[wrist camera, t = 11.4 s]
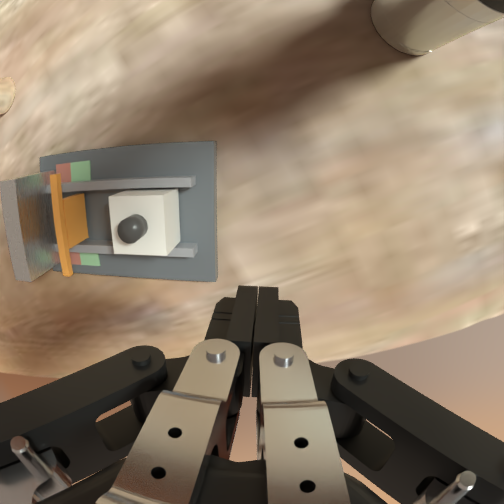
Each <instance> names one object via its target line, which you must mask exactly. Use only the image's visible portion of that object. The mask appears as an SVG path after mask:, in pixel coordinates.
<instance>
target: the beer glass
mask: <svg viewBox="0 0 504 504" xmlns="http://www.w3.org/2000/svg"><path fill="white" fill-rule="evenodd" d="M15 90H16V88H15V83H14V80H13V79H12V78H10V77H4V78H0V115H2V114H4V113H6V112H7V111H8V110H9V108H10V107H11V105H12V103H13V100H14V97H15Z"/></svg>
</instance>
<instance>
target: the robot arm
mask: <svg viewBox="0 0 504 504" xmlns="http://www.w3.org/2000/svg"><path fill="white" fill-rule="evenodd" d="M371 18H372V21H373V24H374V26H375V28H376V30H377V32H378V33H379V34H380V36H381V37H382V38H383V39H384V40H385V41H386V42H387V43H388V44H389V45H391V46H392V47H394V48H395V49H397V50H399V51H401V52H403V53H406V54H409V55H424V54H427V53H429V52H431V51H433V50H435V49H437V48H439V47H441V46H443V45H445V44H447V43H449V42H451V41H454V40H456V39H458V38H460V37H462V36H464V35H466V34H468V33H470V32H473V31H475V30H477V29H479V28H481V27H484V26H486V25H488V24H490V23H493V22H495V21H497V20H500V19H502V18H504V0H374V2H373V4H372V7H371ZM257 296H258V304H257ZM252 368H253V374H252ZM251 377H252V397H257V410H256V429H257V460H254V461H246V462H234V461H230V460H229V458H230V453H231V449H232V444H233V441H234V437H235V432H236V428H237V424H238V420H239V416H240V408H241V406H242V399H243V396H245V397H249V396H250V388H251ZM129 400H130V401H131V404H132V405H131V406H129V407H127V408H125V409H123V410H121V411H119V412H117V413H115V414H113V415H111V416H109V417H107V418H105V419H103V420H101V421H98V422H96V419H97V418H98V417H99V416H100V415H101V414H103V413H105V412H107V411H109V410H111V409H113V408H115V407H117V406H119V405H121V404H123V403H125V402H127V401H129ZM366 419H367V420H368V421H370V422H371V423H372V424H374V425H375V426H377V427H378V428H379V429H381V430H382V431H384V432H385V433H386V434H388V435H389V436H390V437H391V438H392V439H393V440H392V439H391V438H389V437H388V436H387V435H385V434H384V433H382V432H381V431H379V430H378V429H377V428H375V427H374V426H373V425H371V424H370V423H369V422H367V421H366ZM126 456H127V458H125V457H126ZM340 457H341V458H342V459H343V460H344V461H346V462H347V463H348V464H349V465H351V466H352V467H353V468H354V469H356V470H357V471H358V472H359V473H361V474H362V475H364V476H365V477H366V478H367V479H368V480H370V481H371V482H372V483H373V484H375V485H376V486H377V487H379V488H380V489H381V490H383V491H384V492H386V493H387V494H388V495H390V496H391V497H392V498H394V499H395V500H397V501H398V502H399V503H401V504H504V442H502V441H501V440H499V439H497V438H495V437H494V436H492V435H490V434H488V433H487V432H485V431H483V430H481V429H480V428H478V427H476V426H474V425H473V424H471V423H470V422H468V421H466V420H464V419H463V418H461V417H459V416H458V415H456V414H454V413H453V412H451V411H449V410H447V409H446V408H444V407H443V406H441V405H439V404H438V403H436V402H434V401H433V400H431V399H429V398H428V397H426V396H424V395H423V394H421V393H419V392H418V391H416V390H415V389H413V388H411V387H410V386H408V385H406V384H405V383H403V382H402V381H400V380H398V379H396V378H395V377H394V376H392V375H390V374H389V373H387V372H386V371H384V370H382V369H381V368H379V367H378V366H376V365H374V364H373V363H371V362H368V361H366V360H363V359H347V360H344V361H342V362H340V363H339V364H338V365H337V366H336V367H335V369H333V368H329V367H325V366H321V365H318V364H316V363H314V362H312V361H311V360H309V359H308V357H307V354H306V352H305V351H304V350H303V347H302V338H301V329H300V321H299V312H298V307H297V306H296V305H295V304H294V303H293V302H292V301H289V300H278V287H260V286H259V294H258V286H240V285H239V286H238V290H237V294H236V298H228V297H224V298H223V299H221V300H220V301H219V302H218V303H217V304H216V306H215V309H214V313H213V315H212V320H211V321H210V324H209V327H208V330H207V334H206V337H205V340H204V341H202V342H200V343H198V344H197V345H196V346H195V347H194V348H193V350H192V352H191V354H190V355H189V356H186V357H181V358H172V359H165V356H164V354H163V352H162V351H161V350H159V349H158V348H156V347H153V346H145V345H144V346H136V347H132V348H130V349H128V350H125V351H123V352H121V353H119V354H116V355H114V356H112V357H110V358H107V359H105V360H103V361H101V362H98V363H96V364H94V365H91V366H89V367H87V368H84V369H82V370H80V371H78V372H75V373H73V374H70V375H68V376H66V377H63V378H61V379H59V380H57V381H54V382H52V383H50V384H47V385H44V386H42V387H39V388H37V389H35V390H32V391H30V392H27V393H25V394H22V395H20V396H17V397H15V398H12V399H10V400H7V401H5V402H2V403H0V504H387V503H386V502H385V501H384V500H382V499H381V498H380V497H379V496H378V495H376V494H375V493H374V492H373V491H371V490H370V489H369V488H368V487H366V485H364V484H363V483H362V482H360V481H358V480H357V479H356V478H354V477H352V476H350V475H348V474H346V473H344V472H343V468H342V464H341V460H340ZM123 458H124V459H123ZM98 471H99V472H98ZM96 472H97V473H96ZM94 473H95V474H94ZM92 474H93V475H92ZM90 475H91V476H90ZM88 476H89V477H88ZM86 477H88V478H86ZM84 478H86V479H84ZM81 479H84V480H82V481H80V482H78V483H76V484H74V485H72V484H73V483H75V482H77V481H79V480H81Z"/></svg>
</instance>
